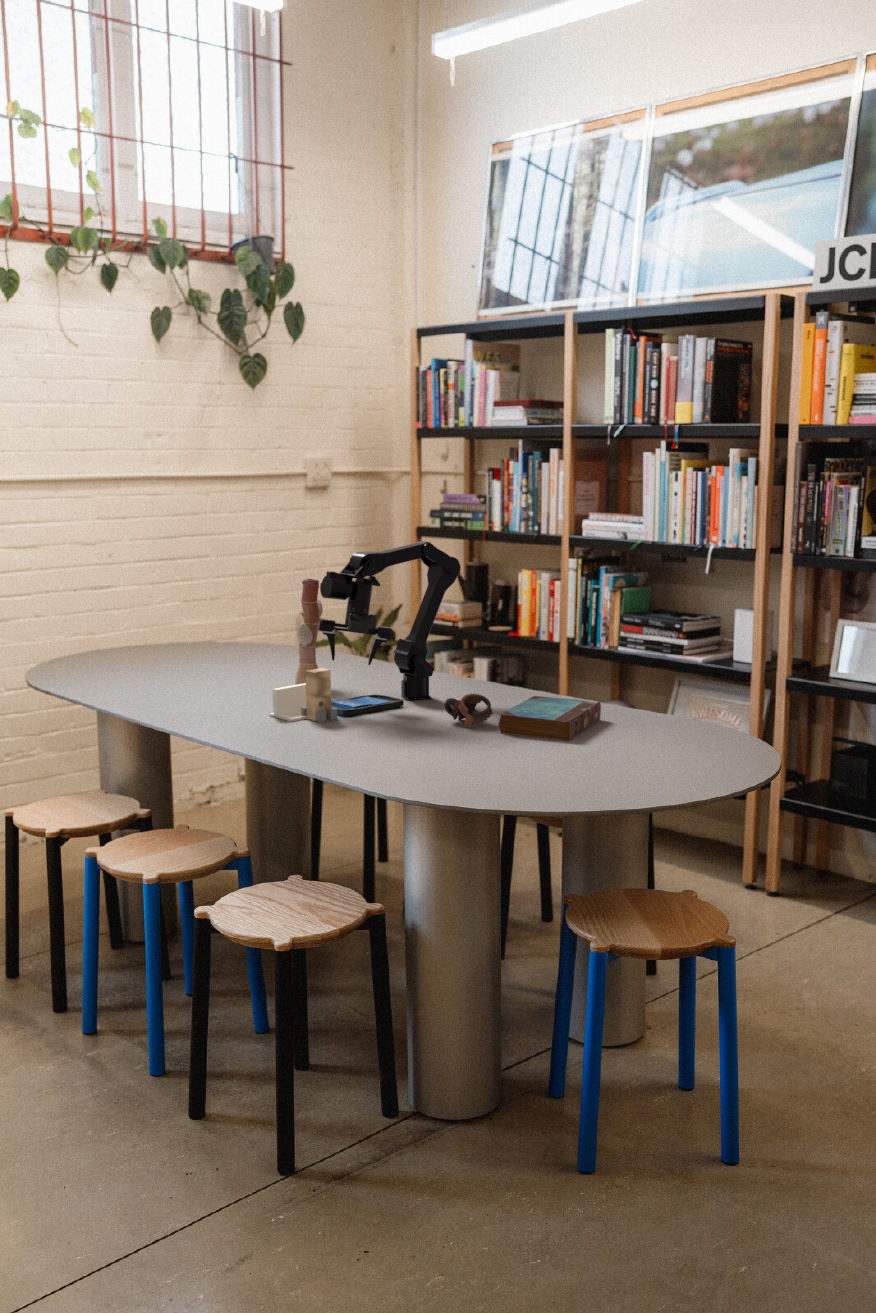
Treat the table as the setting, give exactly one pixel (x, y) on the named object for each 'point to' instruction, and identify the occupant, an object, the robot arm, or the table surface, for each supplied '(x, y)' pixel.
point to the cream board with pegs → (295, 704)
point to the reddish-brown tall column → (308, 629)
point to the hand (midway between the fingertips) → (351, 662)
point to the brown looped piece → (468, 709)
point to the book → (550, 717)
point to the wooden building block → (318, 692)
